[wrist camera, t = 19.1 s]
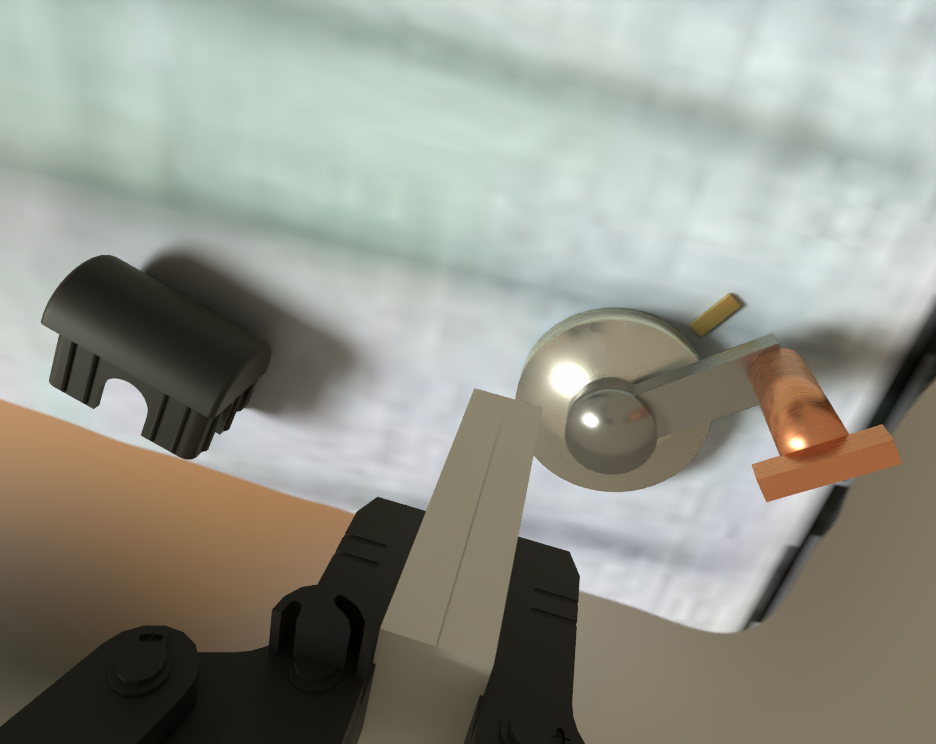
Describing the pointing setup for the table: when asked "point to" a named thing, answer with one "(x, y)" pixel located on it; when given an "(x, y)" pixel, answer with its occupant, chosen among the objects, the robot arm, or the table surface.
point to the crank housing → (610, 356)
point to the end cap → (152, 352)
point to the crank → (720, 394)
